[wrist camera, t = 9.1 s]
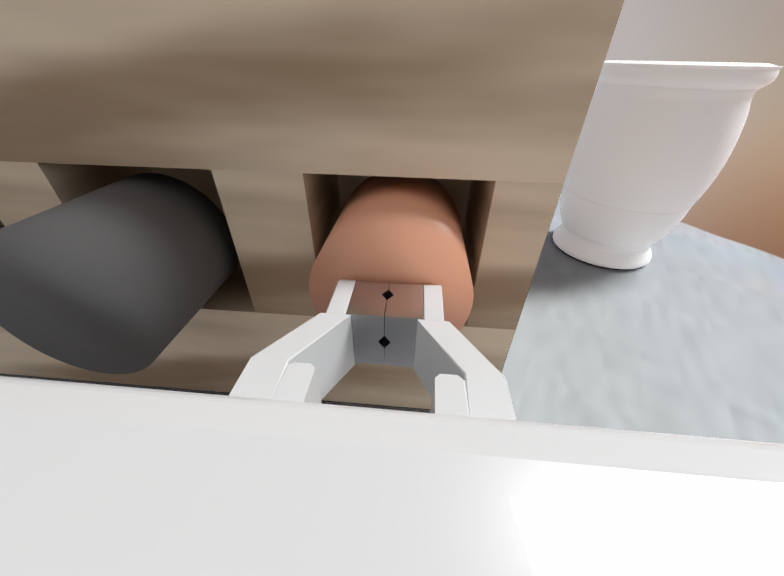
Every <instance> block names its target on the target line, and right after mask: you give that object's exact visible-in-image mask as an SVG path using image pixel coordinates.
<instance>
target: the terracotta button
mask: <svg viewBox="0 0 784 576" xmlns="http://www.w3.org/2000/svg"><path fill="white" fill-rule="evenodd" d="M340 279H347V280H361V281H374V282H386V283H395V284H416V285H441V286H442V297H443V311H444V321H449V322H450V323H451V324H452V325H453V326H454V327H455V328H456V329H457V330H458V331H459V330H460V329H461V328H462V326H463V325H464V324H465V322H466V321H467V319H468V316H469V314H470V312H471V308H472V305H473V297H474V293H473V284H472V279H471V274H470V269H469V264H468V259H467V255H466V250H465V245H464V240H463V235H462V230H461V226H460V221H459V216H458V211H457V208H456V205H455V203H454V201H453V199H452V197H451V195H450V194H449V193H448V191H447V190H446V189H445V188H444V187H443V186H442V185H441V184H440V183H439V182H437V181H436V180H435V179H433V178H410V177H385V176H370V177H369V178H367V179H366V180H364V181H363V182H362V183H361V184H359V185H358V186H357V187H356V189H355V190H354V191H353V192H352V194H351V195H350V197H349V199H348V201H347V202H346V204H345V206H344V208H343V210H342V212H341V214H340V215H339V217H338V219H337V221H336V223H335V225H334V227H333V228H332V230H331V232H330V234H329V236H328V238H327V240H326V241H325V243H324V245H323V247H322V249H321V251H320V253H319V254H318V256H317V258H316V260H315V262H314V264H313V267H312V269H311V273H310V278H309V292H310V297H311V301H312V304H313V307H314V309H315V311H316V313H317V315H318V314H320V313H326V311H327V308H328V306H329V303H330V301H331V298H332V296H333V293H334V291H335V288H336V286H337V283H338V281H339V280H340Z"/></svg>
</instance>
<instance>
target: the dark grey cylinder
mask: <svg viewBox="0 0 784 576" xmlns="http://www.w3.org/2000/svg"><path fill="white" fill-rule="evenodd" d="M237 262H238V255H237V252H236V249H235V245H234V242H233V239H232V236H231V233H230V229H229V226H228V223H227V220H226V217H225V216H224V214H223V213H222V212H221V211H220V209H219V208H218V207H217V206H216V205H215V204H214V203H213V202H212V201H211V200H210V199H209V198H208V197H206V196H205V195H204V194H203V193H201V192H200V191H198V190H197V189H196V188H194V187H192V186H191V185H189V184H187V183H185V182H183V181H181V180H179V179H176V178H173V177H171V176H167V175H163V174H158V173H139V174H134V175H132V176H129V177H127V178H124V179H122V180H119V181H117V182H114V183H112V184H109V185H107V186H104V187H102V188H100V189H97V190H95V191H92V192H90V193H87V194H85V195H82V196H80V197H77V198H75V199H72V200H70V201H68V202H65V203H63V204H60V205H58V206H55V207H53V208H50V209H48V210H45V211H43V212H40V213H38V214H36V215H33V216H31V217H28V218H26V219H23V220H21V221H18V222H16V223H13V224H11V225H8V226H6V227H4V228H1V229H0V326H1V327H2V328H4V329H5V330H6V331H8V332H9V333H10V334H12V335H13V336H15V337H16V338H18V339H19V340H21V341H22V342H24V343H26V344H27V345H29V346H31V347H32V348H34V349H36V350H38V351H40V352H42V353H44V354H46V355H48V356H50V357H52V358H54V359H56V360H59V361H61V362H64V363H67V364H69V365H72V366H75V367H78V368H82V369H85V370H89V371H94V372H99V373H106V374H130V373H135V372H138V371H141V370H143V369H145V368H147V367H148V366H149V365H151V364H152V363H153V362H154V360H155V359H156V358H157V357H158V356H159V355H160V354H161V353H162V351H163V350H164V349H165V348H166V347H167V346H168V345H169V344H170V342H171V341H172V340H173V339H174V338H175V337H176V336H177V335H178V333H179V332H180V331H181V330H182V329H183V328H184V327H185V326H186V324H187V323H188V322H189V321H190V320H191V319H192V318H193V317H194V315H195V314H196V313H197V312H198V311H199V310H200V309H201V308H202V307H203V305H204V304H205V303H206V302H207V301H208V300H209V299H210V298H211V296H212V295H213V294H214V293H215V292H216V291H217V290H218V289H219V287H220V286H221V285H222V284H223V283H224V282H225V281H226V280H227V278H228V277H229V276H230V275H231V274H232V272H233V271H234V270H235V268H236V265H237Z"/></svg>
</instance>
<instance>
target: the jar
mask: <svg viewBox="0 0 784 576" xmlns="http://www.w3.org/2000/svg"><path fill="white" fill-rule="evenodd" d="M781 68H782V66H776V65H773V64H768V63H740V62H692V61H691V62H690V61H688V62H687V61H636V60H608V61H604V64H603V67H602V70H601V73H600V76H599V79H598V81H599V82H598V86H597V89H596V91H595V92H594V94H593V97H592V100H591V103H590V106H589V109H588V112H587V115H586V118H585V121H584V124H583V127H582V130H581V133H580V136H579V139H578V142H577V145H576V148H575V151H574V155H573V158H572V161H571V164H570V167H569V170H568V173H567V176H566V179H565V182H564V185H563V188H562V191H561V197H560V214H561V221H562V223H563V224H562V225H560V226H559V227H558V228H557V229H556V230H555V231H554V233H553V240H554V242H555V244H556V245H557V246H558V247H559V248H560V249H561V250H562V251H564V252H565V253H567V254H569V255H570V256H572V257H574V258H576V259H579V260H581V261H584V262H587V263H589V264H593V265H597V266H601V267H606V268H613V269H635V268H639V267H642V266H645V265H646V264H648V263H649V261H650V260H651V256H652V253H651V248H650V246H651V245H653V244H655V243H657V242H658V241H659V240H661V239H662V238H664V237H665V236H666V235H667V234H668V233H670V232H671V231H672V230H673V229H674V228H675V227H676V226H677V225H678V224H679V222H680V221H681V220H682V219H683V218H684V216H685V215H686V214H687V212H688V211H689V209H690V208H691V207H692V206H693V205H694V204H695V203H696V202H697V200H698V199H699V198H700V197H701V196H702V195H703V194H704V192H705V191H706V190H707V189H708V187H709V186H710V185H711V184H712V182H713V181H714V180H715V178H716V177H717V175H718V174H719V172H720V171H721V169H722V168H723V166H724V165H725V163H726V161H727V160H728V158H729V156H730V154H731V153H732V151H733V149H734V147H735V145H736V143H737V141H738V139H739V136H740V134H741V132H742V129H743V127H744V124H745V122H746V119H747V116H748V113H749V108H750V105H751V100H752V98H753V96H754V94H755V93H756V91H757V89H760V88H762V87H765V86H767V85H768V84H770V83H771V82H773V81H774V80H775V79H776V77H777V76H778V73H779V70H780V69H781Z"/></svg>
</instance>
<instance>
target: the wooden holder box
mask: <svg viewBox="0 0 784 576" xmlns="http://www.w3.org/2000/svg"><path fill="white" fill-rule="evenodd" d="M623 3H624V0H0V220H1V222H2V223H3V224H4V225H5V227H6V226H8V225H11V224H13V223H16V222H18V221H21V220H23V219H26V218H28V217H31V216H33V215H36V214H38V213H40V212H43V211H45V210H48V209H50V208H53V207H55V206H58V205H60V204H63V203H65V202H68V201H70V200H72V199H75V198H77V197H80V196H82V195H85V194H87V193H90V192H92V191H95V190H97V189H100V188H102V187H104V186H107V185H109V184H112V183H114V182H117V181H119V180H122V179H124V178H127V177H129V176H132V175H134V174H139V173H158V174H163V175H167V176H171V177H173V178H176V179H179V180H181V181H183V182H185V183H187V184H189V185H191V186H192V187H194V188H196V189H197V190H198V191H200V192H201V193H203V194H204V195H205V196H206V197H208V198H209V199H210V200H211V201H212V202H213V203H214V204H215V205H216V206H217V207H218V208H219V209H220V211H221V212H222V213H223V214H224V216H225V217H226V220H227V223H228V226H229V229H230V233H231V236H232V239H233V242H234V245H235V249H236V252H237V255H238V262H237V265H236V268H235V270H234V271H233V272H232V274H231V275H230V276H229V277H228V278H227V280H226V281H225V282H224V283H223V284H222V285H221V286H220V287H219V289H218V290H217V291H216V292H215V293H214V294H213V295H212V296H211V298H210V299H209V300H208V301H207V302H206V303H205V304H204V305H203V307H202V308H201V309H200V310H199V311H198V312H197V313H196V314H195V315H194V317H193V318H192V319H191V320H190V321H189V322H188V323H187V324H186V326H185V327H184V328H183V329H182V330H181V331H180V332H179V333H178V335H177V336H176V337H175V338H174V339H173V340H172V341H171V342H170V344H169V345H168V346H167V347H166V348H165V349H164V350H163V351H162V353H161V354H160V355H159V356H158V357H157V358H156V359H155V360H154V362H153V363H152V364H151V365H149V366H148V367H147V368H145V369H143V370H141V371H138V372H135V373H130V374H106V373H99V372H94V371H89V370H85V369H82V368H78V367H75V366H72V365H69V364H67V363H64V362H61V361H59V360H56V359H54V358H52V357H50V356H48V355H46V354H44V353H42V352H40V351H38V350H36V349H34V348H32V347H31V346H29V345H27V344H26V343H24V342H22V341H21V340H19V339H18V338H16V337H15V336H13V335H12V334H10V333H9V332H8V331H6V330H5V329H4V328H2V327H1V326H0V374H12V375H24V376H36V377H48V378H60V379H72V380H84V381H96V382H108V383H120V384H132V385H144V386H156V387H168V388H181V389H193V390H205V391H217V392H229V393H230V392H231V391H232V389H233V387H234V385H235V384H236V382H237V380H238V379H239V377H240V375H241V374H242V372H243V370H244V368H245V367H246V365H247V363H248V362H249V360H250V358H251V357H252V356H254V355H255V354H257V353H259V352H260V351H262V350H263V349H265V348H266V347H268V346H270V345H271V344H273V343H274V342H276V341H277V340H279V339H280V338H282V337H284V336H285V335H287V334H288V333H290V332H291V331H293V330H295V329H296V328H298V327H299V326H301V325H302V324H304V323H305V322H307V321H309V320H310V319H312V318H313V317H315V316H316V315H317V313H316V311H315V309H314V307H313V304H312V301H311V297H310V292H309V278H310V273H311V269H312V267H313V264H314V262H315V260H316V258H317V256H318V254H319V253H320V251H321V249H322V247H323V245H324V243H325V241H326V240H327V238H328V236H329V234H330V232H331V230H332V228H333V227H334V225H335V223H336V221H337V219H338V217H339V215H340V214H341V212H342V210H343V208H344V206H345V204H346V202H347V201H348V199H349V197H350V195H351V194H352V192H353V191H354V190H355V189H356V187H357V186H358V185H359V184H361V183H362V182H363V181H364V180H366V179H367V178H369V177H370V176H385V177H410V178H433V179H435V180H436V181H437V182H439V183H440V184H441V185H442V186H443V187H444V188H445V189H446V190H447V191H448V193H449V194H450V195H451V197H452V199H453V201H454V203H455V205H456V208H457V211H458V216H459V221H460V226H461V230H462V235H463V240H464V245H465V250H466V255H467V259H468V264H469V269H470V274H471V279H472V284H473V293H474V297H473V305H472V308H471V312H470V314H469V316H468V319H467V321H466V322H465V324H464V325H463V326H462V328H461V329H460V330H459V332H460V333H461V334H462V335H463V336H464V337H465V338H466V339H467V340H468V341H469V342H470V343H471V344H472V345H473V346H474V347H475V348H476V349H477V350H478V351H479V352H480V353H481V354H482V355H483V356H484V357H485V358H486V359H487V360H488V361H489V362H490V363H491V364H492V365H493V366H494V367H495V368H496V369H497V370H498V371H499V372H500V373H502V370H503V366H504V363H505V360H506V357H507V354H508V351H509V348H510V345H511V342H512V339H513V336H514V333H515V330H516V327H517V324H518V321H519V318H520V315H521V312H522V309H523V306H524V303H525V300H526V297H527V294H528V291H529V288H530V285H531V282H532V279H533V276H534V273H535V270H536V267H537V264H538V260H539V257H540V254H541V251H542V248H543V245H544V242H545V239H546V236H547V233H548V230H549V227H550V224H551V221H552V218H553V215H554V212H555V209H556V206H557V203H558V200H559V197H560V194H561V191H562V188H563V185H564V182H565V179H566V176H567V173H568V170H569V167H570V164H571V161H572V158H573V155H574V151H575V148H576V145H577V142H578V139H579V136H580V133H581V130H582V127H583V124H584V121H585V118H586V115H587V112H588V109H589V106H590V103H591V100H592V97H593V94H594V91H595V88H596V85H597V82H598V79H599V76H600V73H601V70H602V67H603V64H604V61H605V58H606V54H607V51H608V49H609V45H610V42H611V39H612V36H613V33H614V30H615V27H616V24H617V21H618V18H619V15H620V12H621V9H622V6H623ZM322 400H325V401H337V402H349V403H361V404H373V405H385V406H397V407H409V408H421V409H430V407H431V400H432V398H431V397H430V395H429V393H428V392H427V390H426V388H425V387H424V385H423V383H422V382H421V380H420V378H419V377H418V375H417V374H416V372H415V370H414V367H404V366H394V365H385V361H384V364H366V363H355V365H354V366H353V367H352V368H351V369H350V370H349V371H348V372H347V373H346V374H345V375H344V377H343V378H342V379H341V380H340V381H339V382H338V383H337V384H336V385H335V386H334V387H333V388H332V389H331V390H330V391H329V392H328V393H327V394H326V396H325V397H324V398H323V399H322Z"/></svg>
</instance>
